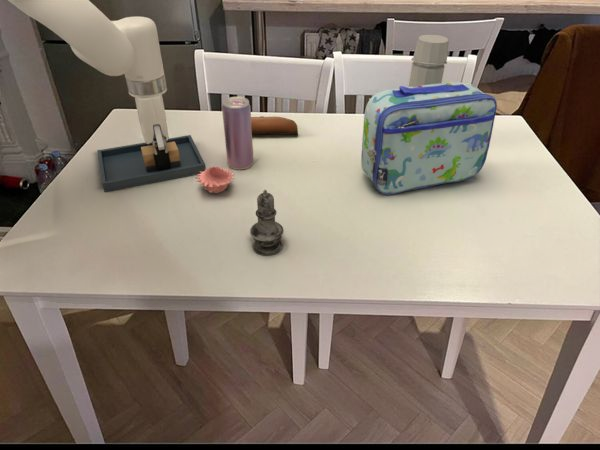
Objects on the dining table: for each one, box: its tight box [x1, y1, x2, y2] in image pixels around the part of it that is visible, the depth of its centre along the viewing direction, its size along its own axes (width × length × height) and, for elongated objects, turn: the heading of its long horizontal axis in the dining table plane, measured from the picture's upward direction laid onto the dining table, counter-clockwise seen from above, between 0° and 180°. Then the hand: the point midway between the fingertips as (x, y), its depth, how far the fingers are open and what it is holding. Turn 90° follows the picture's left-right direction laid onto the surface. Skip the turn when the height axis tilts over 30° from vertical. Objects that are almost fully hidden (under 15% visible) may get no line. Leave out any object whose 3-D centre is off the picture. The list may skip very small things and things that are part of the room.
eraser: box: [141, 141, 181, 171], centre depth 103 cm, size 8×4×4 cm, turn 112°
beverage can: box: [221, 96, 255, 171], centre depth 102 cm, size 6×6×15 cm
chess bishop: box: [249, 189, 284, 257], centre depth 80 cm, size 6×6×12 cm
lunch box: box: [360, 82, 498, 196], centre depth 95 cm, size 26×11×21 cm, turn 104°
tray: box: [96, 134, 207, 193], centre depth 105 cm, size 22×16×2 cm
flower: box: [194, 166, 235, 194], centre depth 96 cm, size 8×8×6 cm
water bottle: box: [408, 34, 450, 87], centre depth 109 cm, size 9×8×25 cm
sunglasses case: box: [251, 115, 299, 136], centre depth 119 cm, size 18×7×7 cm
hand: (161, 162), depth 104 cm, fingers closed on eraser, 4 cm apart
